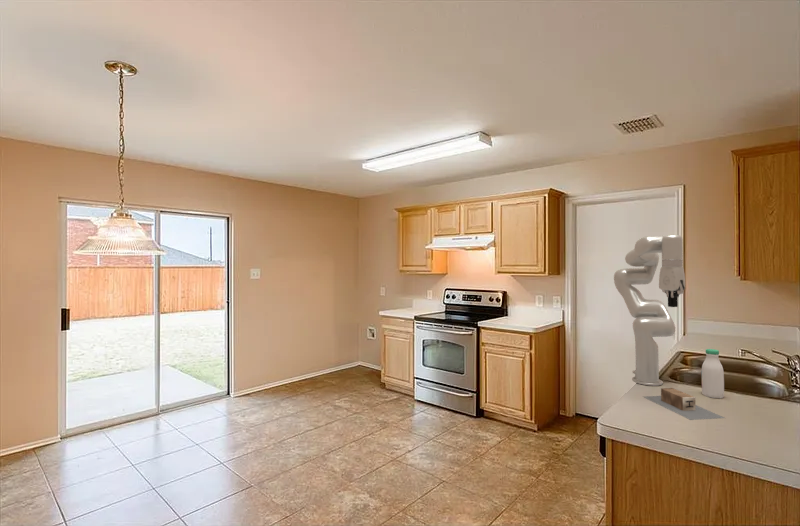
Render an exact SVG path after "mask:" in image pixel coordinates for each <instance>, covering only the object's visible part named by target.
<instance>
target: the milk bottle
mask: <svg viewBox="0 0 800 526" xmlns="http://www.w3.org/2000/svg"><path fill="white" fill-rule="evenodd" d="M705 355H706V356H705V359H704V361H703V363H702V365H701V394H702V395H703V396H705V397H707V398H713V399H723V398H724V397H725V374H724V368H723V365H722V363H721V361H720V358H719V356H720V351H719V349H714V348H707V349H705Z"/></svg>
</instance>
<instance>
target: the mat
mask: <svg viewBox="0 0 800 526" xmlns="http://www.w3.org/2000/svg"><path fill="white" fill-rule="evenodd" d="M643 399H645V400H648V401H650V402H652V403H654V404H656V405H659V406H661V407H663V408H665V409H667V410H669V411H671V412H674V413H675V414H677V415H679V416H682V417H683V418H685V419H688V420H689V421H694V420H713V419H714V420H715V419H717V420H718V419H726V417H725V416H722V415H720V414H718V413H715V412H713V411H711V410H708V409H706V408H704V407H701V406H699V405H697V404H695V405H696V410H689V411H683V410H681V409H679V408H677V407H674V406H672V405H670V404H668V403H666V402H664V401H661V395H646V396H643Z"/></svg>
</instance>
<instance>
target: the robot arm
mask: <svg viewBox="0 0 800 526" xmlns="http://www.w3.org/2000/svg"><path fill="white" fill-rule="evenodd" d="M683 240H684V239H683V236H681V235H679V234H673V235H672V234H671V235H649V236H644V237H641V238H639V239H638V240H637V241H636V242H635V244H634V248H633V249H632V250H630V251H628V252H627V254H626V255H625V257H624V260H625V263H626V264H627V265H628V266H631V267H633V268H621V269H618V270H616V271H615V272H614V275H613V283H614V286H615V289H617V291H618V293H619V294H620V295H621V297H622V298H623V301H624V303H625V305H626V307H627V310H628V312H629V314H630V315H631V317H633V318H634V320H633V322H632V329H633V334H634V341H635V343H634V344H635V352H634V353H635V370H632V374H634V376H633V377H632V378H631V380H632V382H634V383H636V384H638V385H643V386H649V387H650V386H652V387H653V386H654V387H655V386H662V385H663V380H661V379H659V378H660V377H659V376H660V375H659V373H660V371H659V370H660V369H659V367H660V366H659V365H660V364H659V361H660V360H659V346H658V343H657V342H656V341H655V340H654V338H656V337H658V338H659V337H661V338H663V337H664V338H666V337H671V336H673V335H674V334H675V332H676V326H675V323H674V320H673V318H672V316H671V314H670V312H669V310H668V309H667V307H669V308H678V306H679V305H678V304H679V303H678V300H679V299H678V298H679V297H680V295H682V294H684V293H685V292H684V291H685V289H686V274H685V269H684V254H683V253H684V250H683V249H684V248H683V247H684V246H683V243H684V242H683ZM659 253H661V267H660V272H659V275H658V276H659V277H658V288H659V289H660V290H662V293H664V294H665V295H666V297H667V307H666V304H665V303H663V302H662V301H661V300H659V299H646V298H644V297H643V294H642V293H641V292H640V290H639V289H637V288H636V287H635V286H636V285H649V284H650V283H652V281H653V279H654V277H655V274H656V272H657V267H658V265H659V262H660V261H659V260H660V258H659V257H660V256H659ZM634 267H638V268H634ZM642 267H643V268H642ZM633 285H635V286H633Z"/></svg>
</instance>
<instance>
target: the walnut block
mask: <svg viewBox="0 0 800 526" xmlns="http://www.w3.org/2000/svg"><path fill="white" fill-rule="evenodd" d="M660 396H661V401H664V402H666V403H668V404H670V405H672V406H674V407H677V408H679V409H681V410H683V411H689V410H696V405H697V404H696V397H695V396H694V395H691V394H688V393H686V392H683V391H681V390H678V389H675V388H673V387H665V388H664V387H662V388H660Z"/></svg>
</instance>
